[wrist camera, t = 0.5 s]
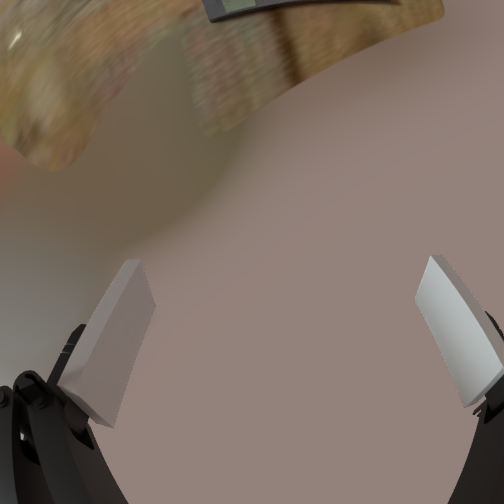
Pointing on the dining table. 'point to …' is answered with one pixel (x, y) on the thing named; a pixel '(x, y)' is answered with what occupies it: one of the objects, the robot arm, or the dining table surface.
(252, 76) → the dining table surface
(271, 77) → the dining table surface
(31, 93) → the dining table surface
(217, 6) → the panel
